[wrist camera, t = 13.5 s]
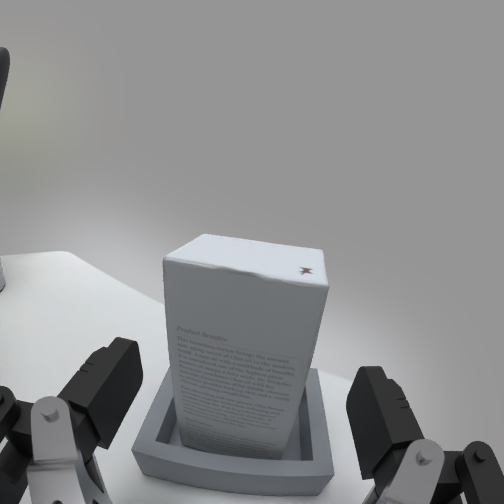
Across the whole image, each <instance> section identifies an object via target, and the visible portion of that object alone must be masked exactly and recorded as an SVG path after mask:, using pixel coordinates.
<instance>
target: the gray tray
mask: <svg viewBox="0 0 504 504" xmlns="http://www.w3.org/2000/svg"><path fill="white" fill-rule="evenodd" d="M131 450H132V453H133V455H134V457H135V459H136V461H137V463H138V465H139V467H140V469H141V471H142V473H143V474H146V475H150V476H153V477H157V478H160V479H164V480H168V481H172V482H176V483H180V484H185V485H190V486H195V487H200V488H205V489H211V490H218V491H225V492H233V493H242V494H253V495H270V496H312V495H319V494H320V492H321V491H322V490H323V489H324V487H325V486H326V485H327V484H328V482H329V481H330V480H331V479H332V477H333V476H334V469H333V462H332V455H331V448H330V441H329V435H328V429H327V422H326V416H325V410H324V404H323V399H322V393H321V387H320V382H319V376H318V371H317V369H314V368H310V369H309V373H308V376H307V380H306V384H305V387H304V391H303V394H302V398H301V401H300V404H299V408H298V411H297V414H296V417H295V421H294V424H293V427H292V429H291V432H290V435H289V438H288V441H287V444H286V447H285V450H284V453H283V456H282V459H281V460H266V459H253V458H243V457H234V456H226V455H219V454H213V453H209V452H206V451H202V450H199V449H195V448H192V447H189V446H186V445H183V444H182V443H181V439H180V433H179V427H178V421H177V415H176V409H175V402H174V395H173V386H172V378H171V370H170V367H169V369H168V371H167V373H166V375H165V377H164V379H163V382H162V384H161V386H160V388H159V390H158V392H157V394H156V396H155V399H154V401H153V403H152V405H151V407H150V409H149V412H148V414H147V416H146V418H145V420H144V422H143V425H142V427H141V429H140V431H139V433H138V436H137V438H136V440H135V442H134V445H133V447H132V449H131Z"/></svg>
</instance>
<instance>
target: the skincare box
mask: <svg viewBox="0 0 504 504" xmlns="http://www.w3.org/2000/svg"><path fill="white" fill-rule="evenodd" d="M163 278H164V279H163V281H164V297H165V314H166V328H167V339H168V351H169V360H170V370H171V378H172V386H173V395H174V402H175V409H176V415H177V421H178V427H179V433H180V439H181V443H182V444H183V445H186V446H189V447H192V448H195V449H199V450H202V451H206V452H209V453H213V454H219V455H226V456H234V457H243V458H253V459H266V460H281V459H282V456H283V453H284V450H285V447H286V444H287V441H288V438H289V435H290V432H291V429H292V427H293V424H294V421H295V417H296V414H297V411H298V408H299V404H300V401H301V398H302V394H303V391H304V387H305V384H306V380H307V376H308V373H309V369H310V365H311V362H312V358H313V354H314V350H315V345H316V341H317V337H318V332H319V328H320V323H321V319H322V315H323V311H324V307H325V303H326V298H327V294H328V290H329V282H328V277H327V271H326V266H325V260H324V254H323V251H322V250H319V249H311V248H304V247H295V246H287V245H280V244H272V243H266V242H260V241H253V240H247V239H239V238H232V237H224V236H217V235H209V234H203V235H201V236H199V237H197V238H196V239H194V240H192V241H191V242H189V243H187V244H186V245H184V246H182V247H180V248H179V249H177V250H175V251H173V252H171V253H170V254H168V255H166V256H165V257H164V258H163Z"/></svg>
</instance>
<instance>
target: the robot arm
mask: <svg viewBox="0 0 504 504" xmlns="http://www.w3.org/2000/svg"><path fill="white" fill-rule="evenodd" d="M9 66H10V57H9V52H8V50H7V49H6V48H3V47H0V108H1V103H2V99H3V95H4V90H5V86H6V82H7V78H8V72H9ZM4 285H5V280H4V275H3V270H2V265H1V259H0V291H1V290H2V288H3V287H4ZM142 381H143V370H142V364H141V358H140V352H139V346H138V343H137V342H136V341H133V340H129V339H125V338H121V337H116V338H115V339H114V340H113V342H112V343H111V344H110V345H109V347H108V348H107V347H102V348H100V349H99V350H97V351H95V352H93V353H92V354H91V355H90V357H89V358H88V359H87V360H86V361H85V364H83V365H82V366H81V367H80V370H79V371H77V372H76V374H75V375H74V376H73V377H72V378H71V380H70V381H69V382H68V383H67V385H66V386H65V387H64V388H63V390H62V391H61V392H60V393H59V395H58V396H57V397H53V396H48V397H44V398H41V399H39V400H38V401H37V402H36V403H35V404H34V403H29V402H24V401H20V400H16V398H15V396H14V394H13V393H12V391H11V390H10V389H9V388H7V387H4V386H0V443H1V441H2V440H3V439H4V437H6V438H7V440H8V442H7V443H6V445H5V447H4V448H3V450H2V451H1V453H0V504H19V502H20V500H21V498H22V496H23V494H24V492H25V490H26V488H27V485H28V484H29V490H30V496H31V501H32V504H113V503H112V501H111V500H110V498H109V496H108V493H107V490H106V488H105V485H104V482H103V479H102V476H101V473H100V470H99V467H98V464H97V461H96V457H95V454H94V450H95V449H96V447H97V446H99V447H102V448H104V449H107V450H108V448H109V446H110V444H111V442H112V440H113V438H114V436H115V435H116V433H117V431H118V429H119V427H120V425H121V423H122V421H123V419H124V417H125V415H126V413H127V412H128V410H129V408H130V406H131V404H132V402H133V400H134V398H135V396H136V395H137V393H138V391H139V389H140V387H141V385H142ZM346 410H347V415H348V419H349V423H350V427H351V431H352V435H353V439H354V444H355V448H356V452H357V457H358V461H359V466H360V471H361V475H362V480H366V479H372V478H374V482H375V485H374V486H373V487H372V488H371V490H370V492H369V493H368V495H367V496H366V498H365V500H364V501H363V503H362V504H463V503H462V499H461V496H460V494H461V493H462V492H464V494H465V497H466V501H467V504H504V475H503V473H502V471H501V468H500V466H499V464H498V461H497V459H496V457H495V455H494V453H493V451H492V449H491V447H490V446H489V445H487V444H486V443H484V442H481V441H475V442H472V443H470V444H469V445H468V446H467V447H466V448H465V449H464V450H463V451H443V450H442V448H441V447H440V446H439V445H438V444H437V443H436V442H434V441H431V440H428V439H425V438H424V436H423V434H422V432H421V429H420V427H419V425H418V423H417V420H416V418H415V416H414V414H413V412H412V409H411V408H410V406H409V403H408V401H407V400H406V397H405V395H404V393H403V391H402V389H401V387H400V386H399V385H398V384H396V382H395V381H394V380H393V379H387V377H386V375H385V373H384V371H383V369H382V367H380V366H367V367H366V366H362V367H360V368H359V370H358V372H357V374H356V377H355V379H354V382H353V384H352V387H351V389H350V391H349V394H348V396H347V401H346Z"/></svg>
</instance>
